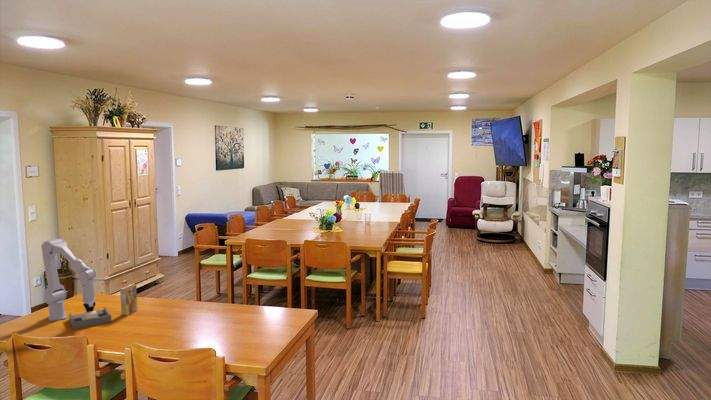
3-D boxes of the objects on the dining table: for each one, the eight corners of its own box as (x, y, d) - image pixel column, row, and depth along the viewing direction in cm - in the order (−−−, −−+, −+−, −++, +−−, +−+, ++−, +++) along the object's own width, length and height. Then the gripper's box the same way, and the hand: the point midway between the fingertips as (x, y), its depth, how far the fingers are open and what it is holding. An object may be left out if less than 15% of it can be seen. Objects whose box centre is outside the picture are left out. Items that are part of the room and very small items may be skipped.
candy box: (131, 309, 283) (130, 283, 281) (138, 310, 282) (136, 284, 280) (121, 315, 274) (119, 288, 273) (127, 315, 273) (125, 288, 272)
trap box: (69, 319, 268) (68, 313, 267) (105, 312, 278) (105, 306, 278) (73, 329, 254) (72, 322, 254) (111, 321, 264) (111, 315, 264)
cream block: (85, 319, 262) (84, 312, 262) (95, 317, 265) (95, 310, 265) (86, 322, 258) (86, 314, 258) (97, 320, 261) (96, 312, 261)
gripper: (98, 293, 259) (100, 318, 261) (94, 287, 271) (96, 310, 273) (83, 296, 255) (85, 321, 257) (80, 289, 267) (81, 313, 269)
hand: (90, 316), depth 265 cm, fingers closed
